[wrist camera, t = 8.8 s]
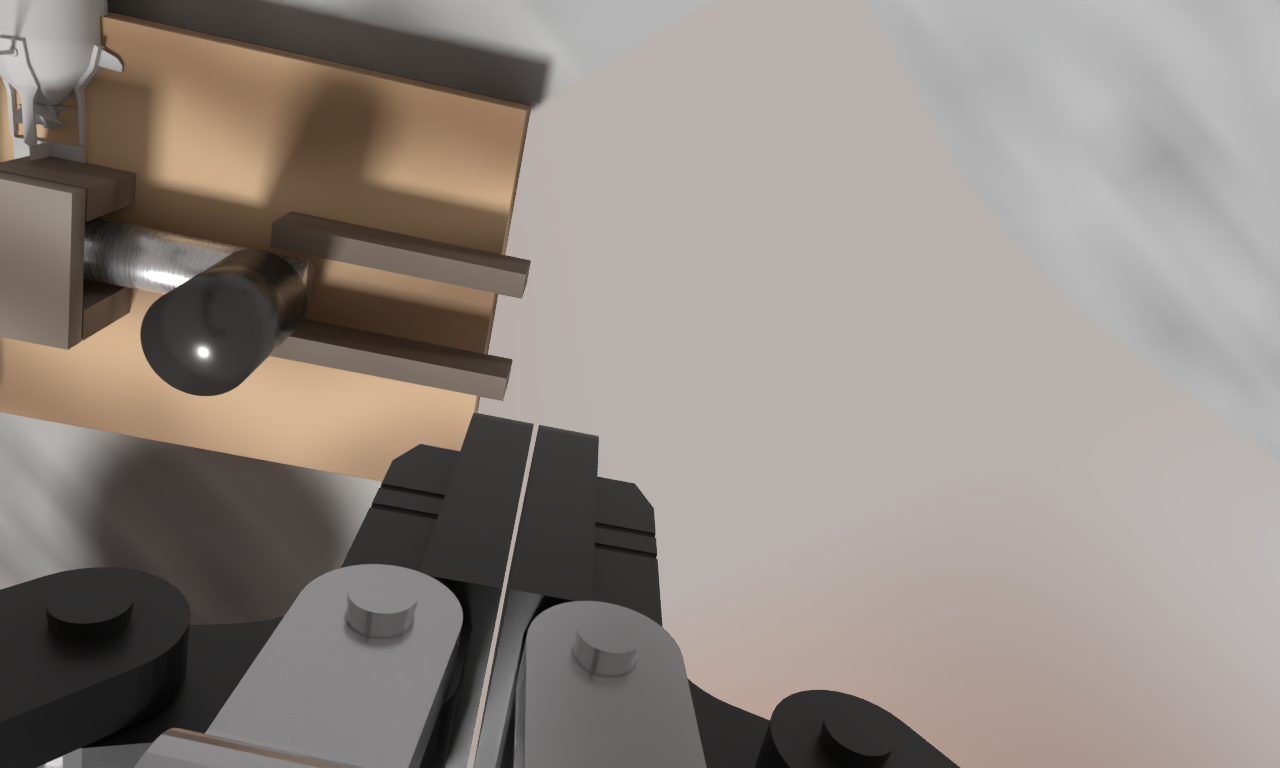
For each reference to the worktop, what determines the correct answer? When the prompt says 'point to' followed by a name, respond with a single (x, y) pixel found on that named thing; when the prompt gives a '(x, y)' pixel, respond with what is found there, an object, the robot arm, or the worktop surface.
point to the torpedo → (50, 67)
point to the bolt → (202, 301)
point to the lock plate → (268, 247)
